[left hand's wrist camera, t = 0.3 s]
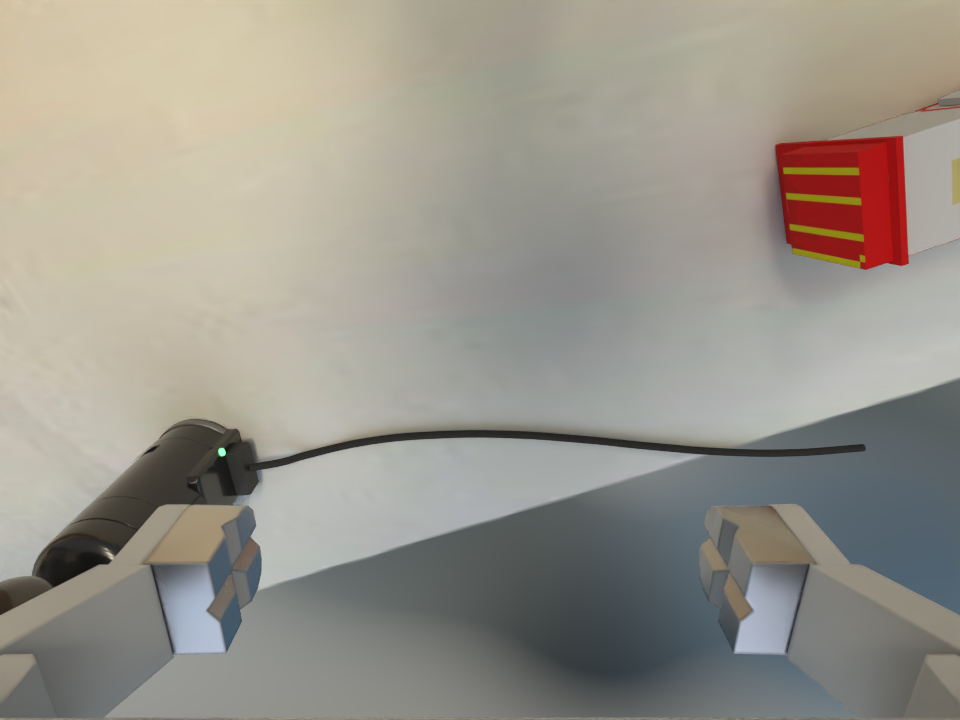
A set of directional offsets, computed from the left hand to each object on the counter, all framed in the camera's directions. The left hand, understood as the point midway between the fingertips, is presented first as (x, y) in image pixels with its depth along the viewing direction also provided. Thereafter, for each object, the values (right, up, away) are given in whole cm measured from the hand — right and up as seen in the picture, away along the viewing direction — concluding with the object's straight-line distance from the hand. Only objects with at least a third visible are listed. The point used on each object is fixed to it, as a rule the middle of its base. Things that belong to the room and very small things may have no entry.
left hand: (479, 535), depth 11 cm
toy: (+41, +22, +42) cm, 63 cm away
